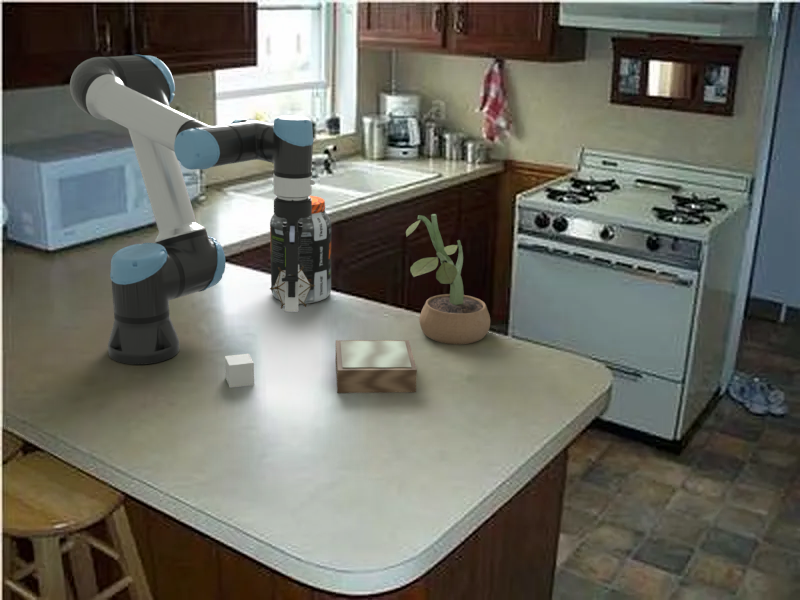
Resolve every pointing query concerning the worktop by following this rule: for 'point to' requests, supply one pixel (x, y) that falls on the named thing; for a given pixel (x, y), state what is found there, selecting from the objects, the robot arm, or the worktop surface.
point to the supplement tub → (306, 250)
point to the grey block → (239, 370)
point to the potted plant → (449, 295)
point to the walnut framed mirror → (375, 366)
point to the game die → (303, 287)
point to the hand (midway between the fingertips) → (292, 302)
